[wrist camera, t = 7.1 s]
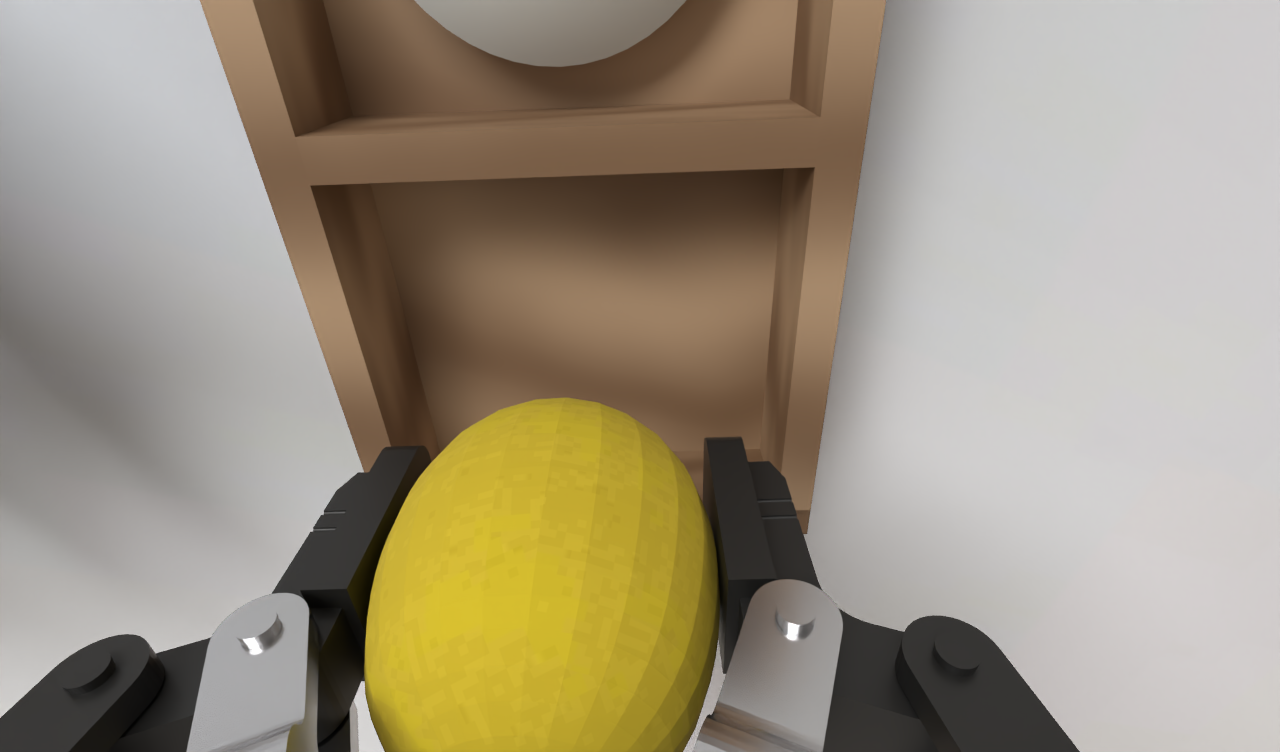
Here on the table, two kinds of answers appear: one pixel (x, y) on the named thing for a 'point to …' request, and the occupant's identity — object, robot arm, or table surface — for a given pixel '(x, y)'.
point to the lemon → (545, 592)
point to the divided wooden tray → (566, 215)
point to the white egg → (551, 26)
